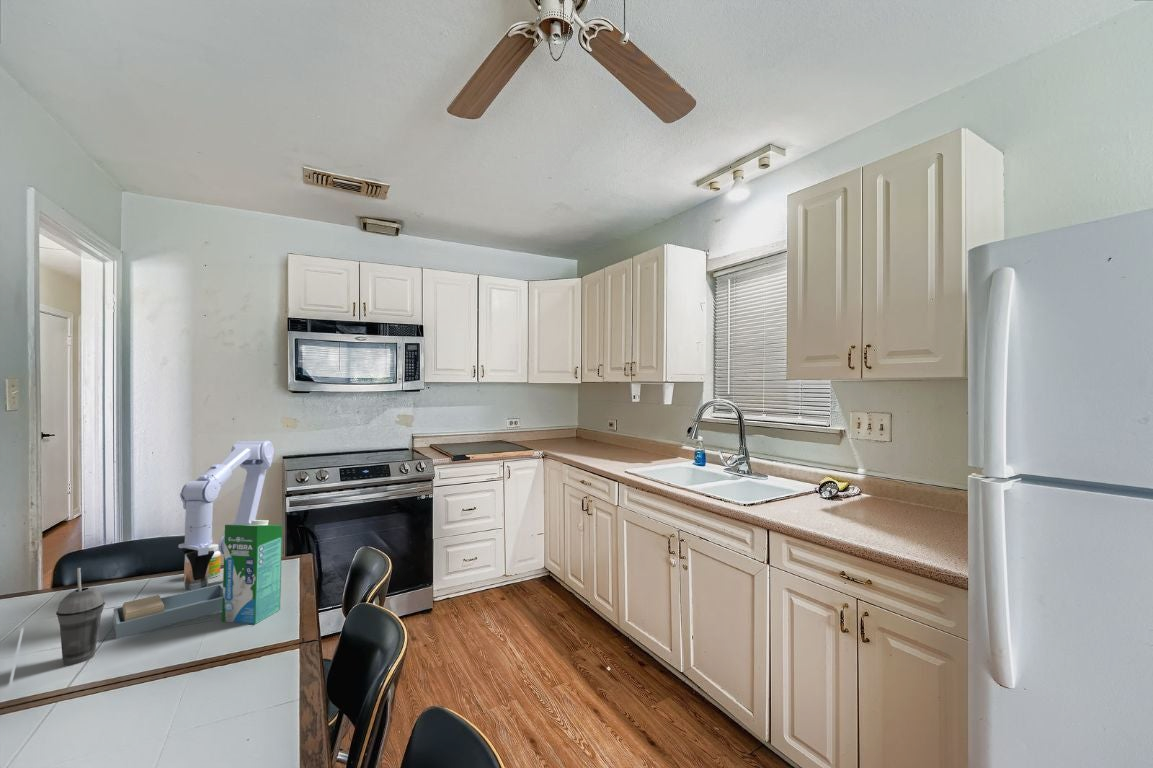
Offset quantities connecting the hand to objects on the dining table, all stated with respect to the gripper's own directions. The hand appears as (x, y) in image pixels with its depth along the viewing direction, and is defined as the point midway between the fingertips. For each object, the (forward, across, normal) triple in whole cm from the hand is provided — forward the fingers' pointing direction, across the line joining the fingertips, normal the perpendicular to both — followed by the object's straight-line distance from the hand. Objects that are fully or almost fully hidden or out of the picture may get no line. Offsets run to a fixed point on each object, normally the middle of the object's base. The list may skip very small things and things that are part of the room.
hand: (197, 576), depth 125 cm
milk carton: (+10, +14, +10) cm, 19 cm away
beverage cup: (+10, +12, -22) cm, 26 cm away
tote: (+9, 0, -4) cm, 10 cm away
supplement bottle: (+10, -29, +8) cm, 31 cm away
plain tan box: (+9, 0, -10) cm, 14 cm away
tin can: (+3, 0, 0) cm, 3 cm away
